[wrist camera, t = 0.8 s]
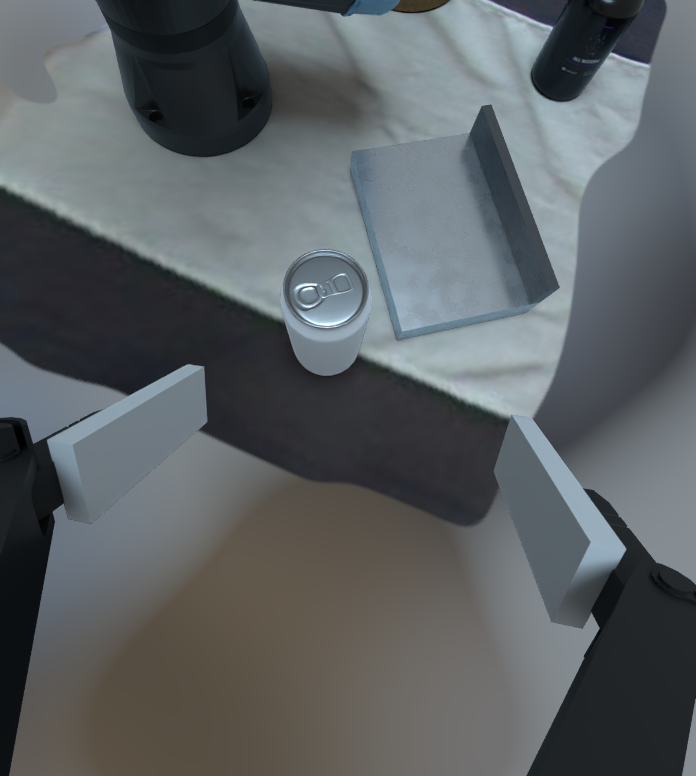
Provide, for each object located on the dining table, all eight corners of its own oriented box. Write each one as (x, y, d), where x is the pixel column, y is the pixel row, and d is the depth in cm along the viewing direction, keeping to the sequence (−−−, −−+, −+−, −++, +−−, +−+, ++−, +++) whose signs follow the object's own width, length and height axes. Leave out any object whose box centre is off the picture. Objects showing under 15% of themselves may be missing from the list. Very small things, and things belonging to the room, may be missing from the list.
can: (283, 328, 35) (261, 262, 23) (343, 305, 36) (351, 230, 24) (309, 387, 34) (299, 349, 22) (369, 362, 35) (391, 312, 23)
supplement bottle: (554, 111, 42) (642, -23, 30) (518, 72, 43) (590, -74, 31) (595, 88, 43) (695, -50, 31) (559, 49, 44) (644, -99, 32)
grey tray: (350, 170, 39) (354, 124, 33) (472, 151, 40) (495, 104, 35) (396, 340, 35) (409, 318, 30) (529, 312, 37) (563, 286, 31)
